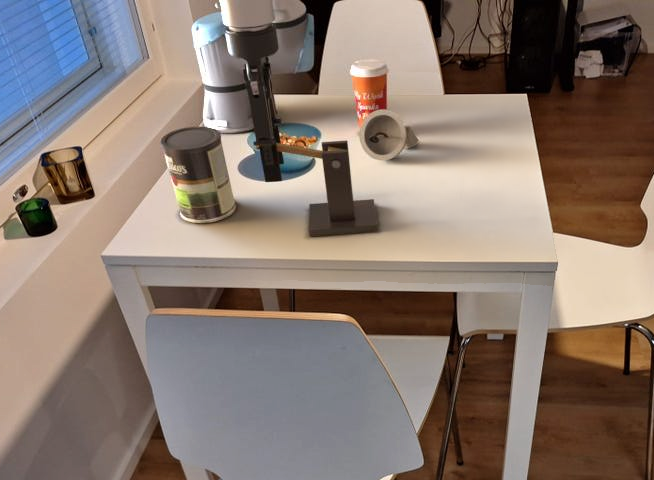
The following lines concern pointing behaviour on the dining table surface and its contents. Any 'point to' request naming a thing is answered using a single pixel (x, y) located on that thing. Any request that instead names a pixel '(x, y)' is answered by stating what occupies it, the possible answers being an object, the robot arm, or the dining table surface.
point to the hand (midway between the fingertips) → (274, 171)
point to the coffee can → (199, 174)
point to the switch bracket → (340, 198)
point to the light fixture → (385, 135)
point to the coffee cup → (369, 86)
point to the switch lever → (302, 150)
